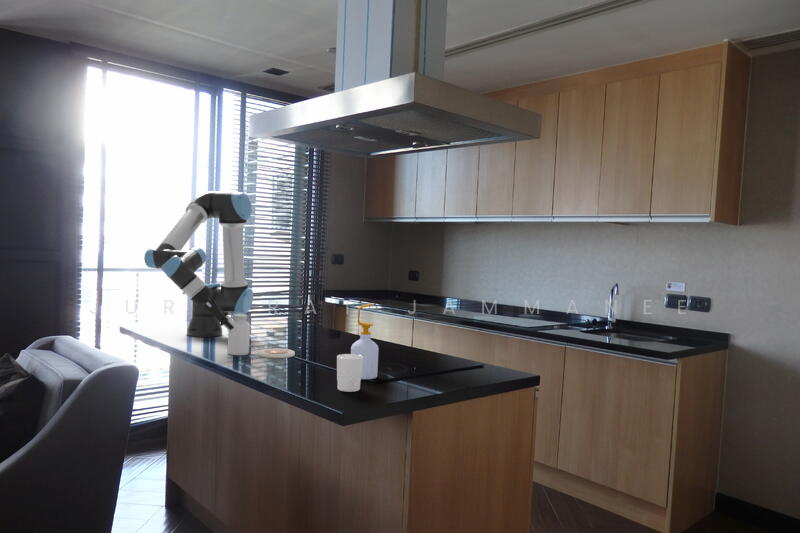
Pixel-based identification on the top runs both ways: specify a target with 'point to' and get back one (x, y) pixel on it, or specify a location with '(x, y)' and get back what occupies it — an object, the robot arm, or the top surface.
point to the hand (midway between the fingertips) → (237, 332)
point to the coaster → (276, 353)
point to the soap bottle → (366, 350)
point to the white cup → (349, 372)
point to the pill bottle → (239, 336)
